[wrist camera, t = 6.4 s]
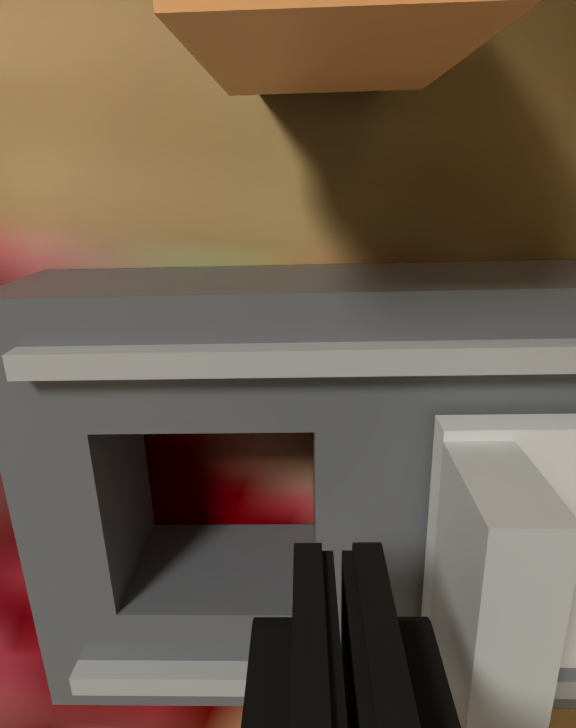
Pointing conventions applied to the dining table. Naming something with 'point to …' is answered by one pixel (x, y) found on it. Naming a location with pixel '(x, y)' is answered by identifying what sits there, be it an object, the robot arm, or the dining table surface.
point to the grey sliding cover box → (245, 415)
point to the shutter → (503, 563)
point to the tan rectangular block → (333, 40)
